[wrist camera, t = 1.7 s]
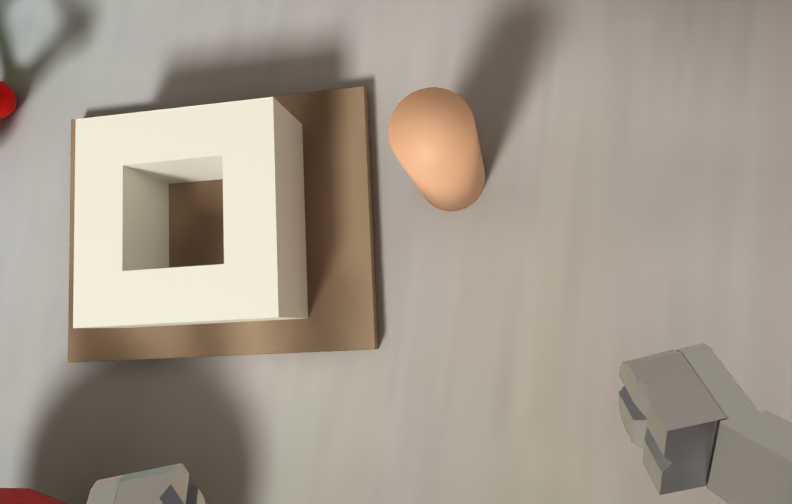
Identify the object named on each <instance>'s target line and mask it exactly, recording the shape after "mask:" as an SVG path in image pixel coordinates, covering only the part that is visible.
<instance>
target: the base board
mask: <svg viewBox="0 0 792 504" xmlns="http://www.w3.org/2000/svg"><path fill="white" fill-rule="evenodd" d="M265 98H266V97H265ZM274 98H275V99H276V100H277V101H278V102H279V103H280V104H281V105H282V106H283V107H284V108H285V109H287V110H288V111H289V112H290V113H291V114H292V115H293V116H294V117H295V118H296V119H297V120H298V121H299V122H300V123H301V124H302V133H303V166H304V199H305V231H306V264H307V297H308V318H306V319H286V320H267V321H248V322H229V323H210V324H191V325H171V326H152V327H133V328H73V284H74V206H75V128H76V119H72V120H71V183H70V257H69V330H68V362H91V361H114V360H137V359H160V358H184V357H207V356H230V355H254V354H277V353H300V352H323V351H347V350H370V349H378V328H377V305H376V282H375V259H374V235H373V212H372V189H371V166H370V143H369V120H368V97H367V91H366V89H365V88H364V86H362V87H353V88H344V89H335V90H326V91H318V92H309V93H300V94H291V95H283V96H274ZM256 99H258V98H256ZM247 100H249V99H247ZM239 101H240V100H239ZM230 102H231V101H230ZM221 103H222V102H221ZM212 104H214V103H212ZM204 105H205V104H204ZM195 106H196V105H195ZM186 107H187V106H186ZM177 108H179V107H177ZM169 109H170V108H169ZM160 110H161V109H160ZM151 111H152V110H151ZM142 112H143V111H142ZM133 113H135V112H133ZM125 114H126V113H125ZM116 115H117V114H116ZM107 116H108V115H107ZM98 117H100V116H98ZM90 118H91V117H90ZM81 119H82V118H81ZM217 264H224V228H223V179H218V180H207V181H196V182H185V183H174V184H169V268H173V267H188V266H203V265H217Z"/></svg>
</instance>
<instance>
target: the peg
mask: <svg viewBox="0 0 792 504" xmlns="http://www.w3.org/2000/svg"><path fill="white" fill-rule="evenodd" d="M388 137H389V142H390V146H391V148H392V151H393V152H394V154H395V156H396V157H397V159H398V160H399V161H400V163H401V164H402V166H403V167H404V168H405V170H406V171H407V173H408V174H409V176H410V177H411V178H412V180H413V181H414V183H415V184H416V185H417V187H418V188H419V190H420V191H421V193H422V194H423V195H424V197H425V198H426V199H427V201H428V202H429V203H430V204H432V205H433V206H435V207H437V208H439V209H441V210H445V211H457V210H461V209H464V208H466V207H468V206H470V205H471V204H473V203H474V202H475V201H476V200H477V199H478V198H479V196H480V195H481V193H482V191H483V188H484V185H485V170H484V165H483V160H482V155H481V150H480V145H479V140H478V135H477V130H476V125H475V120H474V116H473V113H472V111H471V109H470V107H469V106H468V104H467V103H466V102H465V100H463V99H462V98H461V97H460V96H459V95H457V94H456V93H454V92H452V91H450V90H447V89H443V88H435V87H434V88H425V89H421V90H418V91H415V92H413V93H411V94H410V95H408V96H407V97H405V98H404V99H403V100H402V101H401V102H400V103H399V104H398V106H397V107H396V108H395V110H394V112H393V114H392V116H391V118H390V122H389V127H388Z"/></svg>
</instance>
